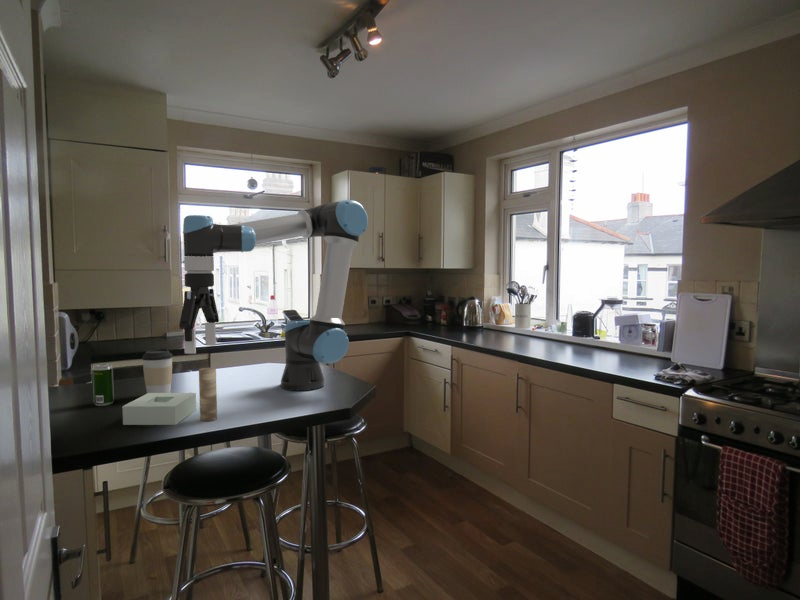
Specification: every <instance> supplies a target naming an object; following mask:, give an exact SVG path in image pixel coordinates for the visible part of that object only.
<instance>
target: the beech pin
mask: <svg viewBox="0 0 800 600" xmlns="http://www.w3.org/2000/svg"><path fill="white" fill-rule="evenodd" d="M198 387H199V388H198V389H199V393H198V394H199V418H200V419H199V420H200V422H208V423H209V422H213V421H216V420H217V419H218V406H217V403H218V402H217V401H218V400H217V399H218V398H217V394H218V393H217V368H215V367H201V368H199V369H198Z"/></svg>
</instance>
